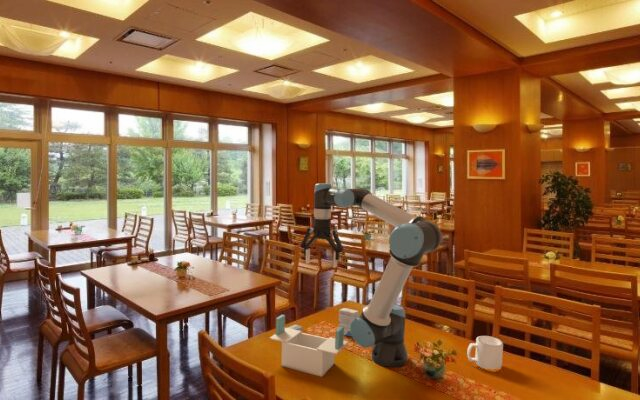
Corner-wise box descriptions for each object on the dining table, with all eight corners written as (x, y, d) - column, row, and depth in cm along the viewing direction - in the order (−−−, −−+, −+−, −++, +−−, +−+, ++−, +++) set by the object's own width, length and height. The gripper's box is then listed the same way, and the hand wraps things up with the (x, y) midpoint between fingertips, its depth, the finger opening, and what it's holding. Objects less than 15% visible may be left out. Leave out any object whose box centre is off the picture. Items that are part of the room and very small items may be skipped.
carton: (334, 363, 162) (334, 339, 162) (321, 376, 152) (322, 351, 151) (295, 354, 170) (296, 331, 169) (281, 366, 159) (281, 342, 159)
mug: (472, 371, 159) (473, 345, 158) (463, 359, 169) (464, 335, 168) (506, 372, 158) (507, 346, 158) (495, 360, 169) (496, 336, 168)
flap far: (301, 332, 168) (301, 315, 168) (287, 343, 158) (287, 324, 157) (284, 328, 172) (284, 311, 171) (269, 339, 161) (269, 320, 161)
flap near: (348, 342, 159) (348, 324, 159) (336, 354, 148) (337, 335, 148) (329, 338, 163) (329, 320, 162) (316, 350, 152) (317, 330, 151)
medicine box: (294, 342, 182) (295, 323, 182) (302, 345, 179) (302, 326, 179) (282, 347, 176) (283, 328, 175) (290, 350, 173) (290, 331, 173)
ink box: (358, 334, 193) (359, 310, 192) (353, 337, 189) (354, 313, 188) (343, 330, 197) (343, 306, 197) (338, 333, 193) (338, 309, 192)
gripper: (351, 219, 174) (350, 266, 175) (301, 215, 184) (300, 260, 186) (345, 221, 167) (343, 270, 168) (293, 216, 178) (292, 263, 179)
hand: (321, 265), depth 177 cm, fingers open, 13 cm apart
